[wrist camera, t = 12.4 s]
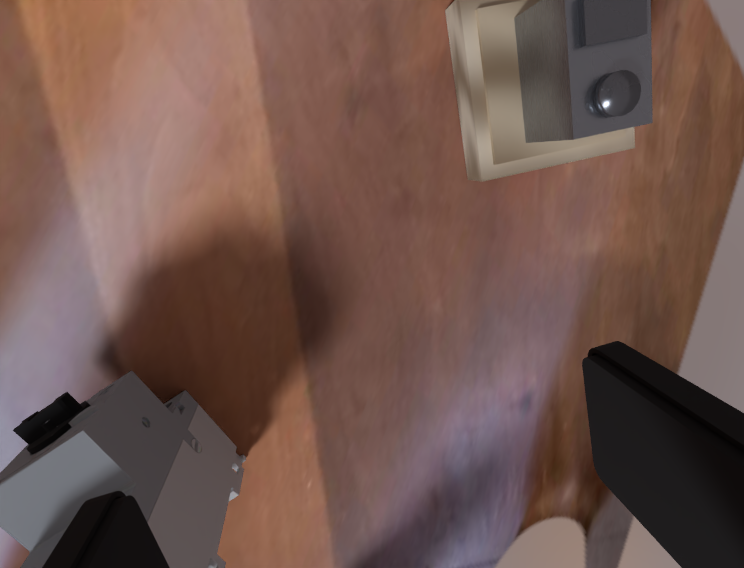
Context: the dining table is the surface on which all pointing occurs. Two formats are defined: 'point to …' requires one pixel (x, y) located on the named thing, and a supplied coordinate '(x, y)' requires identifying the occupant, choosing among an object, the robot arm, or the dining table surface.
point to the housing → (584, 67)
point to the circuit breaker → (123, 471)
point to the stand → (504, 96)
